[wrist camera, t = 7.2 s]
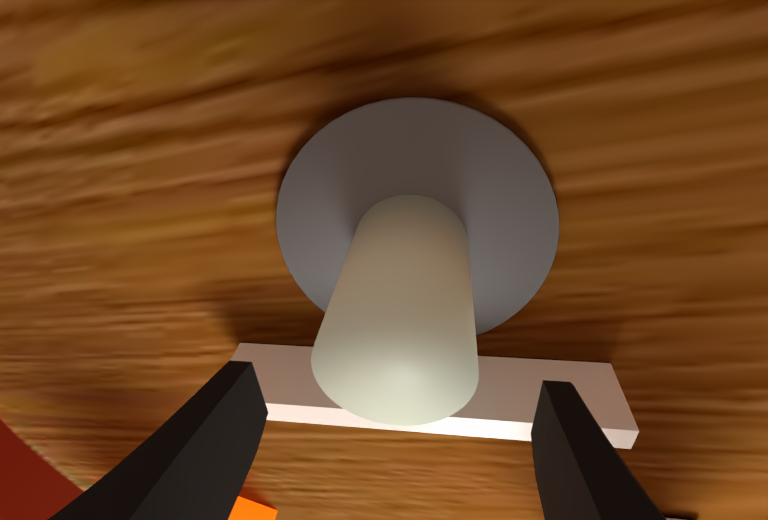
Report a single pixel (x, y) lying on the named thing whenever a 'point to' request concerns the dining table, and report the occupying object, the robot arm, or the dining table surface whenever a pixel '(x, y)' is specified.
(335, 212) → the rubber mat
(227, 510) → the robot arm
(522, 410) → the divider wall
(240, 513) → the orange juice
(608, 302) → the dining table surface
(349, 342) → the sage cylinder
